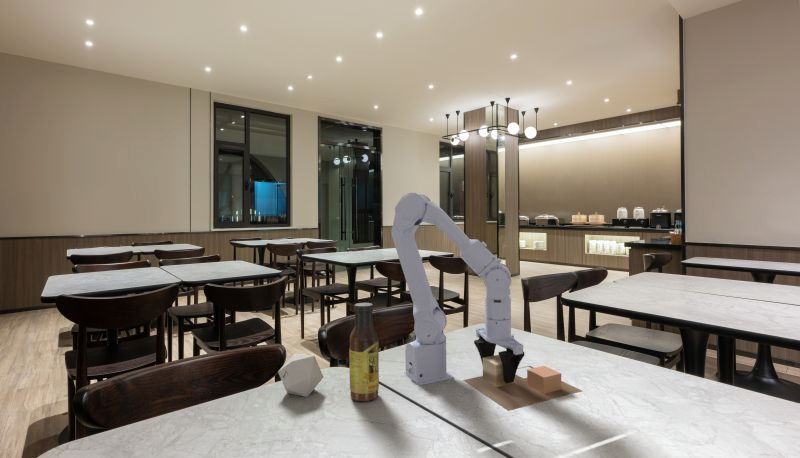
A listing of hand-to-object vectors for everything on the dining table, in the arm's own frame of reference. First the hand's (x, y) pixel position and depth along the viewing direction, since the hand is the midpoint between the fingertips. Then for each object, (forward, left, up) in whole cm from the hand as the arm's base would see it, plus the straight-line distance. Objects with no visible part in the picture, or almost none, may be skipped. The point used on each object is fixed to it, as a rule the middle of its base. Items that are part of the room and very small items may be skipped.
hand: (498, 375), depth 92 cm
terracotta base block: (+7, -7, -1) cm, 10 cm away
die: (-42, +15, -2) cm, 45 cm away
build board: (+3, -4, -2) cm, 5 cm away
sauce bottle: (-30, +7, -2) cm, 31 cm away
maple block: (0, 0, -1) cm, 1 cm away
